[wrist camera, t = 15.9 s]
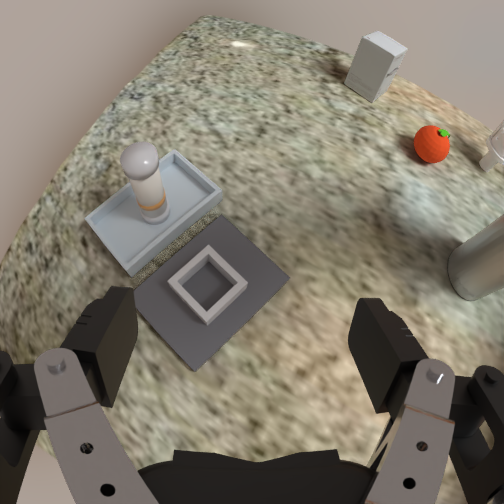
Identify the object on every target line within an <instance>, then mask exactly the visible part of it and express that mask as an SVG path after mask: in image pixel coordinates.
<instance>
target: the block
mask: <svg viewBox="0 0 504 504" xmlns="http://www.w3.org/2000/svg"><path fill="white" fill-rule="evenodd" d="M289 279H290V277H289V276H288V275H287V274H285V273H284V272H283V271H282V270H281V269H280V268H279V267H278V266H277V265H276V264H275V263H274V262H273V261H271V260H270V259H269V258H268V257H267V256H266V255H265V254H264V253H263V252H262V251H261V250H260V249H259V248H257V247H256V246H255V245H254V244H253V243H252V242H251V241H250V240H249V239H248V238H247V237H246V236H244V235H243V234H242V233H241V232H240V231H239V230H238V229H237V228H236V227H235V226H234V225H233V224H231V223H230V222H229V221H228V220H227V219H226V218H225V217H224V216H223V215H220V216H219V217H218V218H217V219H216V220H214V221H213V222H212V223H211V224H210V225H208V226H207V227H206V228H205V229H204V230H203V231H201V232H200V233H199V234H198V235H197V236H195V237H194V238H193V239H192V240H191V241H190V242H188V243H187V244H186V245H185V246H184V247H183V248H182V249H180V250H179V251H178V252H177V253H176V254H175V255H173V256H172V257H171V258H170V259H169V260H168V261H167V262H165V263H164V264H163V265H162V266H161V267H160V268H159V269H157V270H156V271H155V272H154V273H153V274H152V275H151V276H150V277H148V278H147V279H146V280H145V281H144V282H143V283H142V284H141V285H140V286H138V287H137V288H136V289H135V290H134V291H133V292H134V299H135V307H136V308H137V309H138V311H139V312H140V313H141V314H142V315H143V316H144V318H145V319H146V320H147V321H148V322H149V323H150V324H151V325H152V327H153V328H154V329H155V330H156V331H157V332H158V333H159V334H160V335H161V337H162V338H163V339H164V340H165V341H166V342H167V343H168V344H169V345H170V346H171V347H172V349H173V350H174V351H175V352H176V353H177V354H178V355H179V356H180V357H181V358H182V359H183V360H184V361H185V362H186V363H187V364H188V365H189V366H190V367H191V368H192V369H193V370H194V371H195V372H196V371H197V370H198V369H199V368H200V367H201V366H202V365H203V364H204V363H205V362H206V361H207V360H208V359H210V358H211V357H212V356H213V355H214V354H215V353H216V352H217V351H218V350H219V349H220V348H221V347H222V346H223V345H224V344H225V343H226V342H227V341H228V340H229V339H230V338H231V337H232V336H233V335H234V334H235V333H236V332H237V331H238V330H239V329H241V328H242V327H243V326H244V325H245V324H246V323H247V322H248V321H249V320H250V319H251V318H252V317H253V316H254V315H255V314H256V313H257V312H258V311H259V310H260V309H261V308H262V307H263V306H264V305H265V304H266V303H267V302H268V301H269V300H270V299H271V298H272V297H273V296H274V295H275V294H276V293H277V292H278V291H279V290H280V288H281V287H282V286H283V285H284V284H285V283H286V282H287V281H288V280H289Z"/></svg>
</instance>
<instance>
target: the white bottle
mask: <svg viewBox="0 0 504 504" xmlns="http://www.w3.org/2000/svg"><path fill="white" fill-rule="evenodd" d="M120 163H121V165H122V168H123V171H124V173H125V175H126V176H127V177H128V179H129V181H130V184H131V186H132V189H133V192H134V194H135V197H136V200H137V203H138V205H139V211H140V213H141V216H142V218H143V220H144V221H145V222H146V223H148V224H151V225H158V224H161V223H163V222H164V221H166V220H167V219H168V217H169V215H170V206H169V202H168V199H167V197H166V194H165V190H164V187H163V184H162V179H161V175H160V171H159V158H158V154H157V150H156V148H155V146H154V145H152V144H151V143H148V142H136V143H133V144H131V145H129V146H128V147H127V148H126V149H125V150H124V151H123V152H122V154H121V157H120Z"/></svg>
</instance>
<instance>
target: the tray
mask: <svg viewBox="0 0 504 504" xmlns="http://www.w3.org/2000/svg"><path fill="white" fill-rule="evenodd" d="M159 171H160V175H161V179H162V184H163V187H164V190H165V194H166V197H167V199H168V202H169V206H170V215H169V217H168V219H167V220H166V221H164V222H163V223H161V224H158V225H151V224H148V223H146V222H145V221H144V220H143V218H142V216H141V213H140V211H139V205H138V203H137V200H136V197H135V194H134V192H133V189H132V186H131V184H130V182H129V183H127V184H126V185H125V186H123V187H122V188H121V189H120V190H118V191H117V192H116V193H115V194H113V195H112V196H111V197H110V198H108V199H107V200H106V201H105V202H103V203H102V204H101V205H100V206H98V207H97V208H96V209H95V210H94V211H92V212H91V213H90V214H89V215H88V216H87V217H85V220H86V221H87V223H88V224H89V225H90V227H91V228H92V229H93V231H94V232H95V233H96V234H97V236H98V237H99V238H100V240H101V241H102V242H103V243H104V245H105V246H106V247H107V248H108V250H109V251H110V252H111V253H112V255H113V256H114V257H115V258H116V260H117V261H118V262H119V263H120V264H121V266H122V267H123V268H124V269H125V270H126V272H127V273H128V274H129V275H130V276H131V278H132V277H133V276H134V275H135V274H136V273H137V272H138V271H139V270H141V269H142V268H143V267H144V266H145V265H146V264H147V263H149V262H150V261H151V260H152V259H153V258H154V257H155V256H157V255H158V254H159V253H160V252H161V251H162V250H164V249H165V248H166V247H167V246H168V245H169V244H170V243H172V242H173V241H174V240H175V239H176V238H178V237H179V236H180V235H181V234H182V233H183V232H185V231H186V230H187V229H188V228H189V227H191V226H192V225H193V224H194V223H195V222H197V221H198V220H199V219H200V218H201V217H203V216H204V215H205V214H206V213H207V212H209V211H210V210H211V209H212V208H214V207H215V206H216V205H217V204H219V203H220V202H221V201H222V190H221V189H220V188H219V187H218V186H217V185H216V184H215V183H213V182H212V181H211V180H210V179H209V178H208V177H207V176H205V175H204V174H203V173H202V172H201V171H200V170H199V169H197V168H196V167H195V166H194V165H193V164H192V163H191V162H189V161H188V160H187V159H186V158H185V157H184V156H182V155H181V154H180V153H179V152H178V151H177V150H176V149H174V150H172V151H171V152H169V153H168V154H167V155H165V156H164V157H162V158H161V159H160V160H159Z"/></svg>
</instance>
